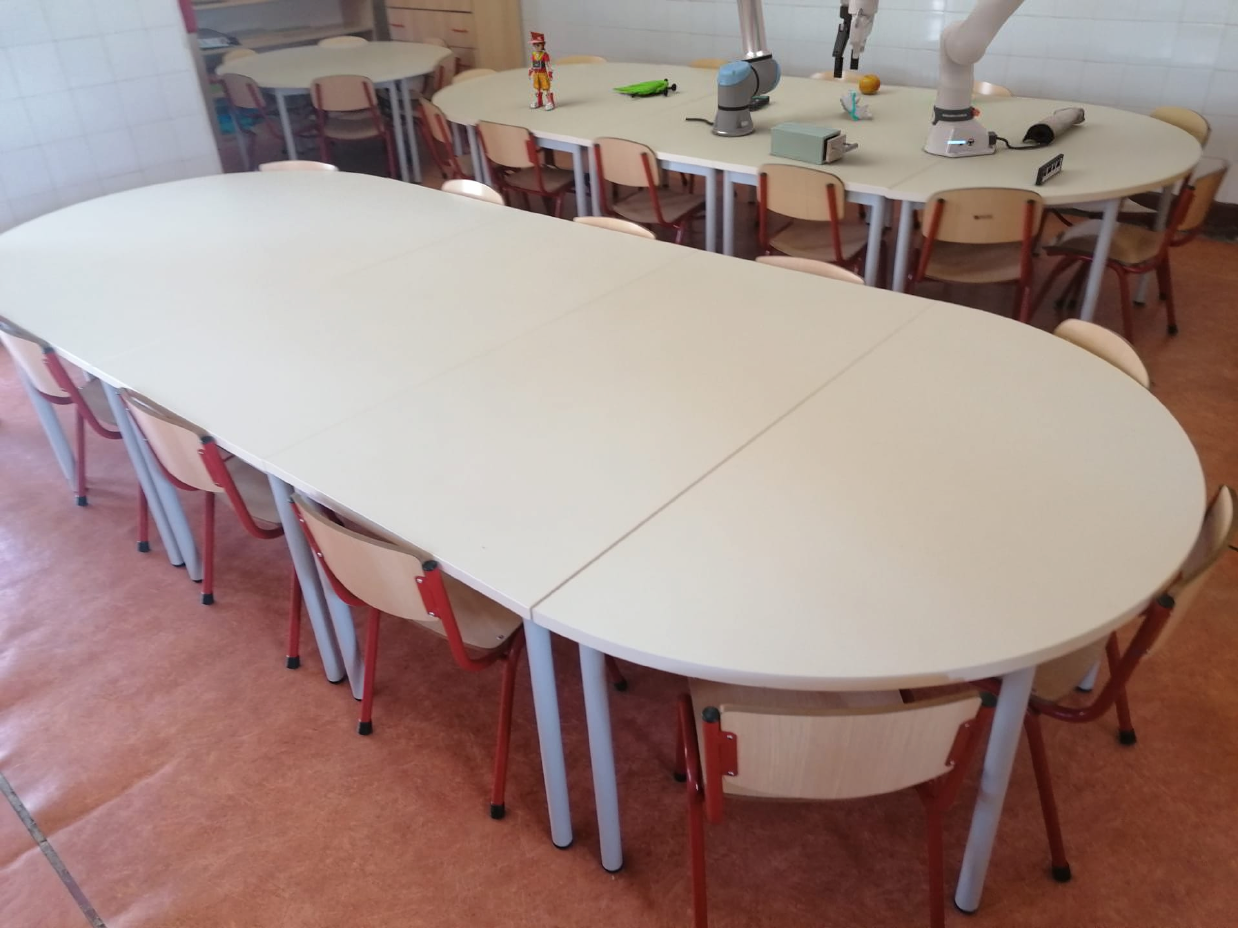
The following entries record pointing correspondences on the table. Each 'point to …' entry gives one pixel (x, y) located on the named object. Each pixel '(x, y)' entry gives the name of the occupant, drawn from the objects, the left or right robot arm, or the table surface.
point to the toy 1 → (541, 71)
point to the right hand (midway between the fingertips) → (858, 55)
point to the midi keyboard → (1049, 169)
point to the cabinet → (800, 141)
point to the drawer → (836, 147)
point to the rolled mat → (1054, 125)
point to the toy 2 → (648, 88)
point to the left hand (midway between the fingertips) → (845, 73)
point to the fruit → (869, 84)
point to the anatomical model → (854, 106)
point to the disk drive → (758, 102)
